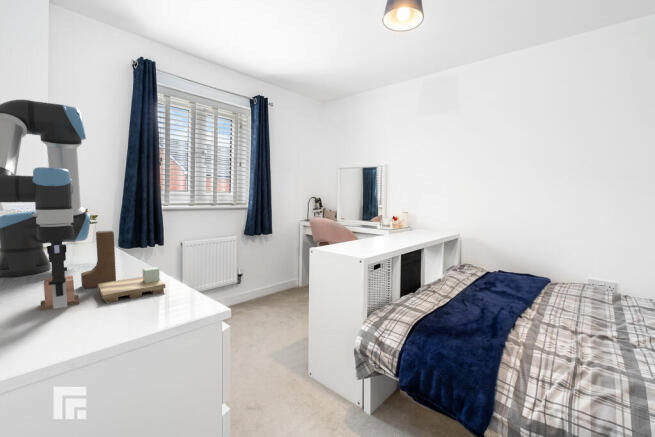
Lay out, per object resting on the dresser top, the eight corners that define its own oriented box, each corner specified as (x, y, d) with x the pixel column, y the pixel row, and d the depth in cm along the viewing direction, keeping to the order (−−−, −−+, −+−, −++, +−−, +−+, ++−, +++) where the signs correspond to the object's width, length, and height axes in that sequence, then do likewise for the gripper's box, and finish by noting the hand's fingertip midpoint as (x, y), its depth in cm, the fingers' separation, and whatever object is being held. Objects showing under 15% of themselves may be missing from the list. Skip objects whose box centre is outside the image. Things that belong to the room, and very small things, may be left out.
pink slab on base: (41, 305, 84) (39, 279, 84) (78, 298, 89) (76, 274, 89) (40, 311, 80) (38, 284, 79) (79, 304, 85) (78, 279, 84)
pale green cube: (142, 280, 99) (142, 268, 99) (156, 278, 102) (156, 266, 102) (145, 283, 96) (145, 270, 96) (159, 280, 99) (159, 268, 99)
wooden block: (82, 289, 98) (79, 233, 96) (81, 285, 101) (78, 232, 99) (116, 283, 104) (113, 231, 102) (114, 280, 107) (111, 230, 106)
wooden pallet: (98, 291, 96) (97, 283, 96) (154, 281, 106) (154, 274, 106) (103, 303, 85) (102, 294, 85) (165, 291, 96) (165, 284, 96)
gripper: (38, 222, 89) (43, 292, 91) (33, 230, 71) (39, 317, 73) (71, 220, 94) (75, 287, 96) (75, 228, 76) (80, 310, 78)
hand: (60, 300), depth 84 cm, fingers open, 13 cm apart
